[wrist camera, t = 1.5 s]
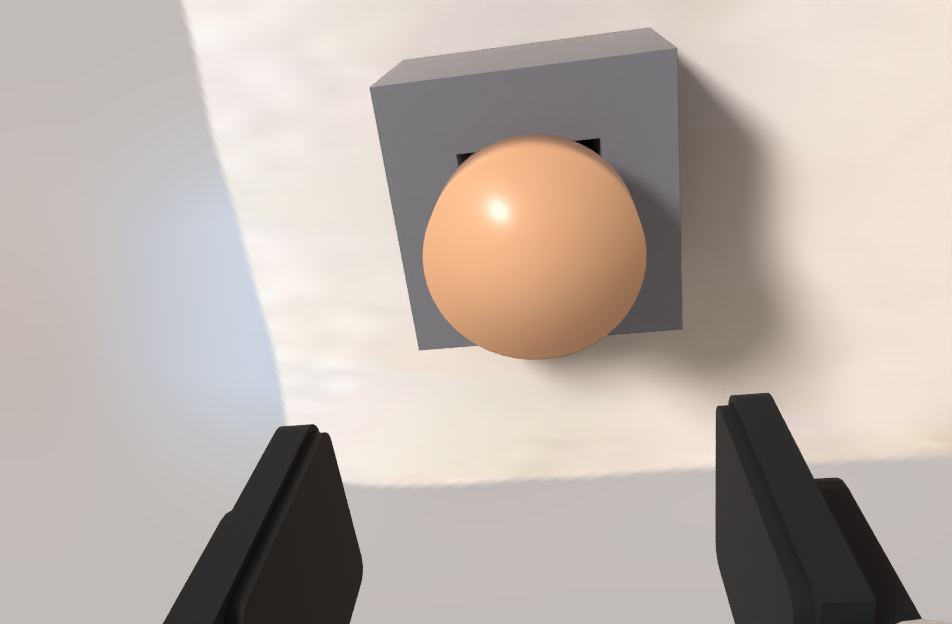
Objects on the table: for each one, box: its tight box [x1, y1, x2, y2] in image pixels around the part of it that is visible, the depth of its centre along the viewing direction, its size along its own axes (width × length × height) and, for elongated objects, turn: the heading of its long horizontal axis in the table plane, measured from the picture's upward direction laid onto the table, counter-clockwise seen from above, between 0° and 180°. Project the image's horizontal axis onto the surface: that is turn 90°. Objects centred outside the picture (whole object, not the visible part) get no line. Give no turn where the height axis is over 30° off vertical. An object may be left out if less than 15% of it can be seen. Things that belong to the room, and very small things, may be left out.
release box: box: [370, 28, 682, 350], centre depth 27 cm, size 9×9×6 cm
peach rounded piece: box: [423, 134, 646, 360], centre depth 23 cm, size 6×6×7 cm
